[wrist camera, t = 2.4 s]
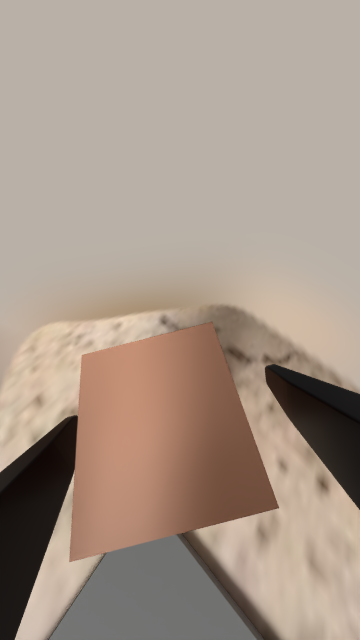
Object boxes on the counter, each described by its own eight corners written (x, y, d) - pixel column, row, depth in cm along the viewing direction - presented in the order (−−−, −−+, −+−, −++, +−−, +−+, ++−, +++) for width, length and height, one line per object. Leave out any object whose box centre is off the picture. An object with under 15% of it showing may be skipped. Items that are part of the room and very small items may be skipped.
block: (221, 431, 13) (279, 508, 3) (167, 445, 13) (69, 562, 3) (205, 375, 15) (211, 321, 5) (158, 387, 15) (81, 355, 5)
